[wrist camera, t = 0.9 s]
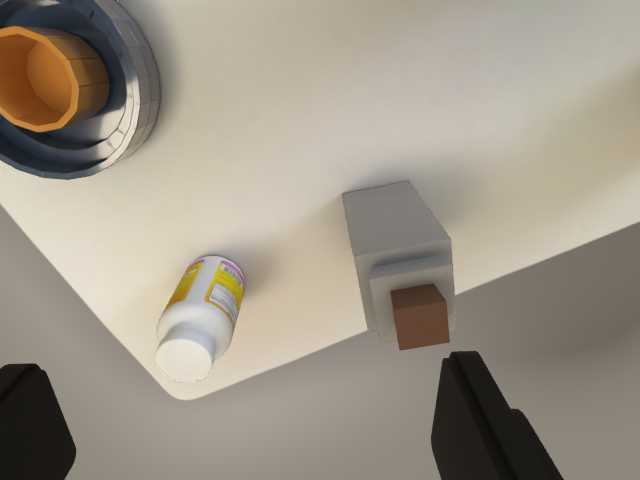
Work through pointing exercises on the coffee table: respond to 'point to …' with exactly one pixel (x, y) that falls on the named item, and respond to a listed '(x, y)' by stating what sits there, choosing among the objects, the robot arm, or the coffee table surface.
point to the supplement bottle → (199, 319)
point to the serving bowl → (122, 104)
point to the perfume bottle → (401, 265)
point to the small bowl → (49, 78)
